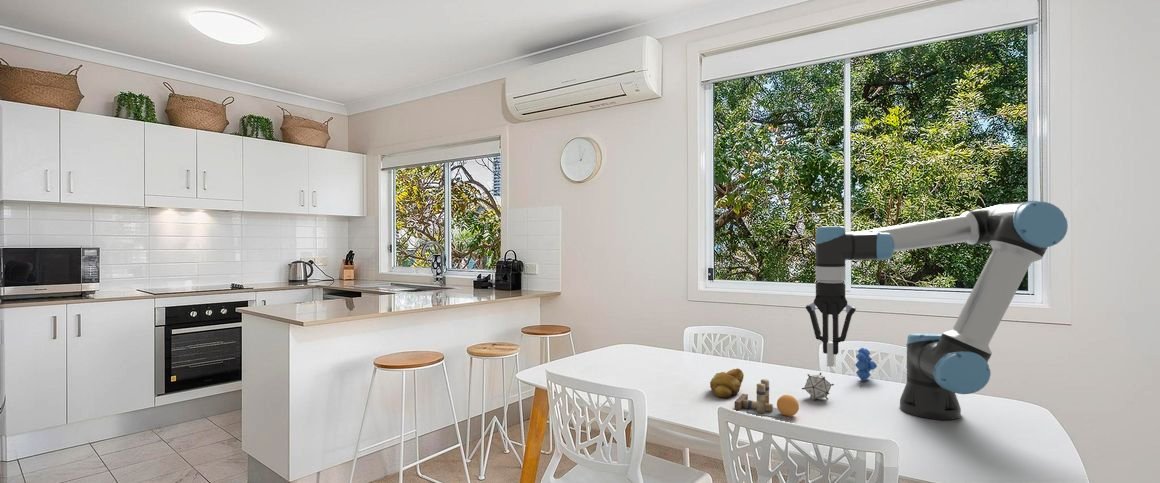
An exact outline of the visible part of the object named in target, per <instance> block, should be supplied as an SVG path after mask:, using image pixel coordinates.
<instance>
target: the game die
mask: <svg viewBox="0 0 1160 483" xmlns="http://www.w3.org/2000/svg"><path fill="white" fill-rule="evenodd" d="M807 376H808V378H807V379H806V383H805V385H804V387H802V388H801V390H805V391H806V392H807V394H809V395H810V397H812V398H813V401H814V402H816V400H817V399H825V400H829V397H827V396H828V395H830V389H831V387H832V386H834V385H835V384H834V383H831V382H829V381H828V379H826V377H825V376H823V375H822V372H820V373H819V374H814V375H813V374H812V375H810V374H809V373H807Z"/></svg>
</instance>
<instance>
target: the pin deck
mask: <svg viewBox="0 0 1160 483" xmlns="http://www.w3.org/2000/svg"><path fill="white" fill-rule="evenodd" d="M746 413H748V414H752V415H758V416H764V417H770V418H776V417H777V418H776V419H781V418H783V420H787V419H789V420H788V421H790V420H791V419H790V418H792V417H793V416H785V415H783V414H781V413H780V412H779V410H778V408H777V407H774V406H773V411H772V412H767V411H765V414H761V415H760V414H759V413H757V410H755V409H747V411H746Z"/></svg>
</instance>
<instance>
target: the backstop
mask: <svg viewBox="0 0 1160 483" xmlns="http://www.w3.org/2000/svg"><path fill="white" fill-rule="evenodd" d="M748 396H749V395H748V394H747V393H742V394H741V395H740V396H738V398H737V399H736V400H735V401H734V411H739V412H740V411H741V410H742V409H743V407H742V402H743V399H744V400H749V397H748Z"/></svg>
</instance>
